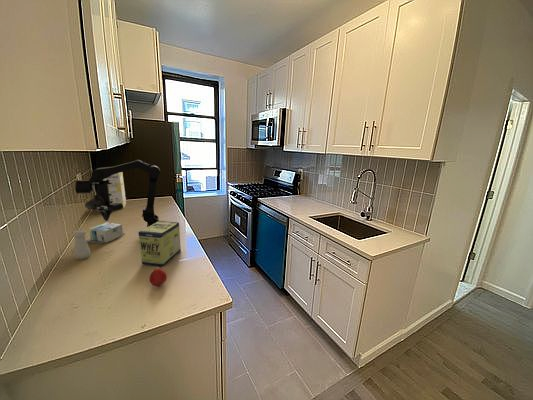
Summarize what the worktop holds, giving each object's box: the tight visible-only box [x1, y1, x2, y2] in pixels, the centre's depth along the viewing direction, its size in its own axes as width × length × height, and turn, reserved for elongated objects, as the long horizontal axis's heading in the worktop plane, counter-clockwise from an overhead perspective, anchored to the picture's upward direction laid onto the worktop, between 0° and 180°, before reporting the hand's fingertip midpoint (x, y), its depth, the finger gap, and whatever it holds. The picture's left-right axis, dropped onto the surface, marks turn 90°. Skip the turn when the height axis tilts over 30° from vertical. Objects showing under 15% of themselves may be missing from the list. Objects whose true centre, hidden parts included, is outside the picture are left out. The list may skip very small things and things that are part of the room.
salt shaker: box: [72, 229, 91, 261], centre depth 101 cm, size 6×6×13 cm
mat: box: [86, 232, 125, 245], centre depth 124 cm, size 12×14×1 cm
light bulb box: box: [88, 221, 124, 243], centre depth 123 cm, size 11×7×11 cm
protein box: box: [138, 220, 182, 268], centre depth 103 cm, size 10×16×16 cm
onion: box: [149, 266, 168, 288], centre depth 83 cm, size 6×6×8 cm
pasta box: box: [102, 172, 127, 210], centre depth 179 cm, size 18×10×28 cm, turn 26°
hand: (106, 220), depth 121 cm, fingers closed
